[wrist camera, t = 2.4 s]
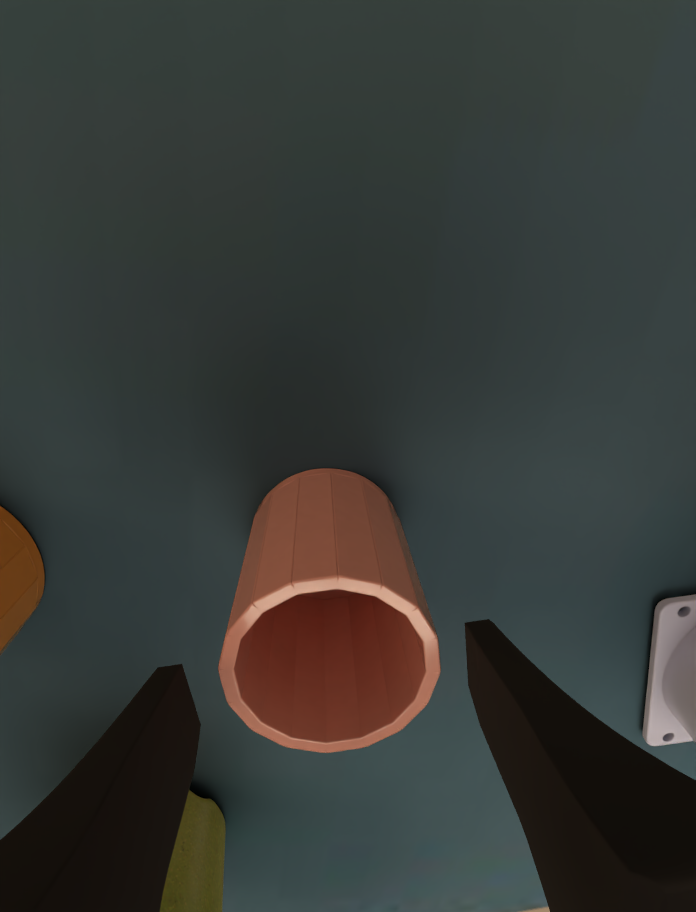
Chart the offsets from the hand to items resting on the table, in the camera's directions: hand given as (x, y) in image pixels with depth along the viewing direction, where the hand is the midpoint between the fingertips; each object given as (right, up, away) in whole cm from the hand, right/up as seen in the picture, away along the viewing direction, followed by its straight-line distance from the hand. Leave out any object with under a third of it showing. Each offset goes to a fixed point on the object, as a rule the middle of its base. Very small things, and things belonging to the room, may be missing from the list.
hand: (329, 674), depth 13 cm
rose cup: (0, +2, +7) cm, 7 cm away
